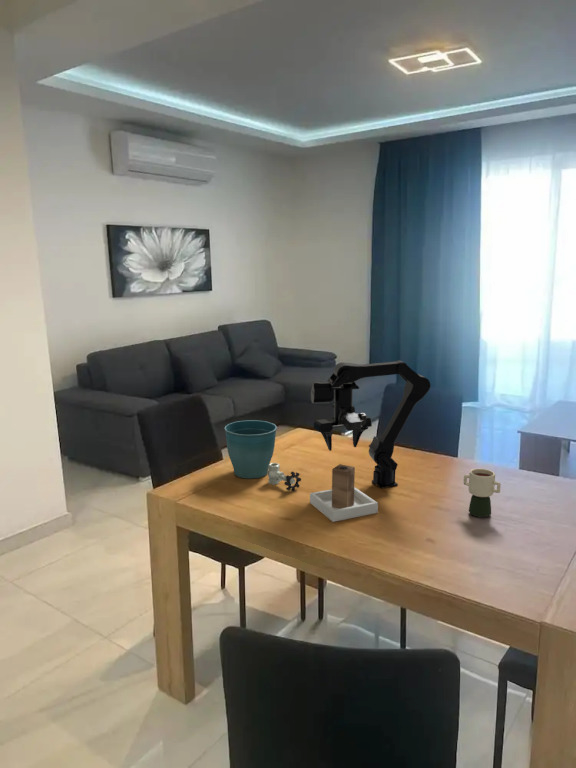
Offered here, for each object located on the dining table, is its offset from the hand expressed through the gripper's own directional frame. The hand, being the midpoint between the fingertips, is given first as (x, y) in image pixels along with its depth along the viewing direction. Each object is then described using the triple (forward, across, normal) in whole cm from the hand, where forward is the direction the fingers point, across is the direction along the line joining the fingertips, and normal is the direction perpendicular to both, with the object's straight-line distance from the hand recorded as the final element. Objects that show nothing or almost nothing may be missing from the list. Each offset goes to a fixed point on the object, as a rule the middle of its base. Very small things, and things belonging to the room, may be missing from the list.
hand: (342, 448), depth 189 cm
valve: (+14, -18, +9) cm, 24 cm away
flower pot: (+13, -23, +24) cm, 36 cm away
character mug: (+13, +26, -36) cm, 46 cm away
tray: (+13, -8, -15) cm, 21 cm away
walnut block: (+12, -8, -15) cm, 21 cm away
